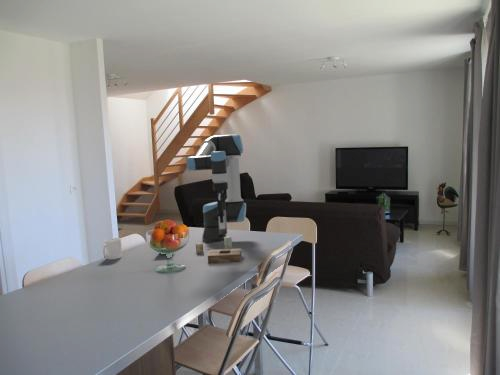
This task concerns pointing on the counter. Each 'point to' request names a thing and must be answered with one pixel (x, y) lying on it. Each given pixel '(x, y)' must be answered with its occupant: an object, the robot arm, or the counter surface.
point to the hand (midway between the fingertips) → (223, 227)
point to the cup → (112, 248)
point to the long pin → (224, 231)
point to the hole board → (225, 256)
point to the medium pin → (228, 242)
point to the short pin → (199, 248)
